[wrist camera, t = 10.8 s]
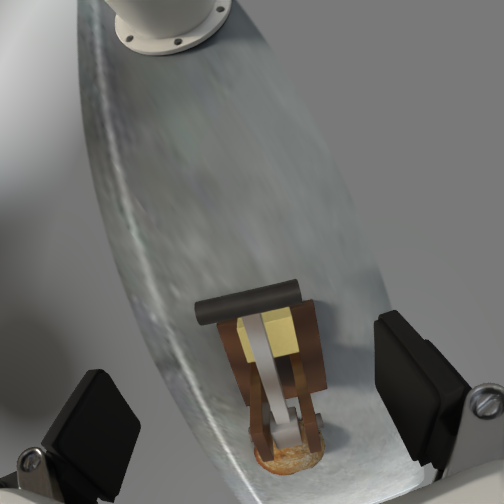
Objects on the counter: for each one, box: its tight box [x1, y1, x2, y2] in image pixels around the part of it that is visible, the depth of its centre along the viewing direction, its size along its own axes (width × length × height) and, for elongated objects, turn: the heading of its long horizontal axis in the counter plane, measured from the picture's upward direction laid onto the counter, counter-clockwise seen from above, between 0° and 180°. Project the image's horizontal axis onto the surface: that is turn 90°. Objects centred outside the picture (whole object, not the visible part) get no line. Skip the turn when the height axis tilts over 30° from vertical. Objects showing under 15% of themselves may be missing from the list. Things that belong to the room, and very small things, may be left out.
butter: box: [237, 307, 299, 363], centre depth 27 cm, size 4×5×3 cm
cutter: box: [217, 300, 327, 462], centre depth 25 cm, size 12×10×13 cm
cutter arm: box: [195, 279, 303, 449], centre depth 18 cm, size 15×6×2 cm, turn 14°
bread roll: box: [254, 421, 325, 475], centre depth 33 cm, size 10×10×8 cm
